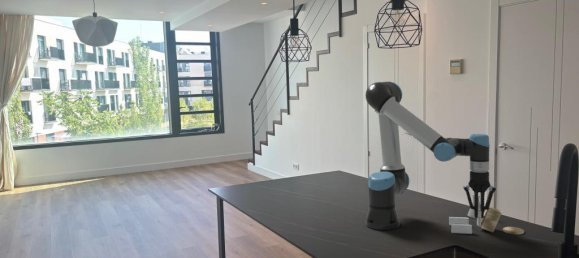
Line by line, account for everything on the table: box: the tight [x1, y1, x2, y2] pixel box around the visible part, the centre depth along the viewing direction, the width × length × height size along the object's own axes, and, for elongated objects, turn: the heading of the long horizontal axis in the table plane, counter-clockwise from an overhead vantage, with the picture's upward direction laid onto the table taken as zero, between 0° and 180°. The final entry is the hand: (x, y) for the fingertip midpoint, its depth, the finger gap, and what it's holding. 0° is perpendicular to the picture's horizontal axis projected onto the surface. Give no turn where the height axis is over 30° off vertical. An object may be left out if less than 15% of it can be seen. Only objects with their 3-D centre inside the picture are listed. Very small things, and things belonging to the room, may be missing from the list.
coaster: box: [502, 226, 525, 236], centre depth 183 cm, size 8×8×1 cm
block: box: [479, 205, 502, 233], centre depth 185 cm, size 5×5×9 cm
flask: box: [467, 194, 480, 220], centre depth 204 cm, size 7×7×10 cm
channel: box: [448, 216, 473, 235], centre depth 189 cm, size 8×11×4 cm
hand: (479, 225), depth 186 cm, fingers closed
